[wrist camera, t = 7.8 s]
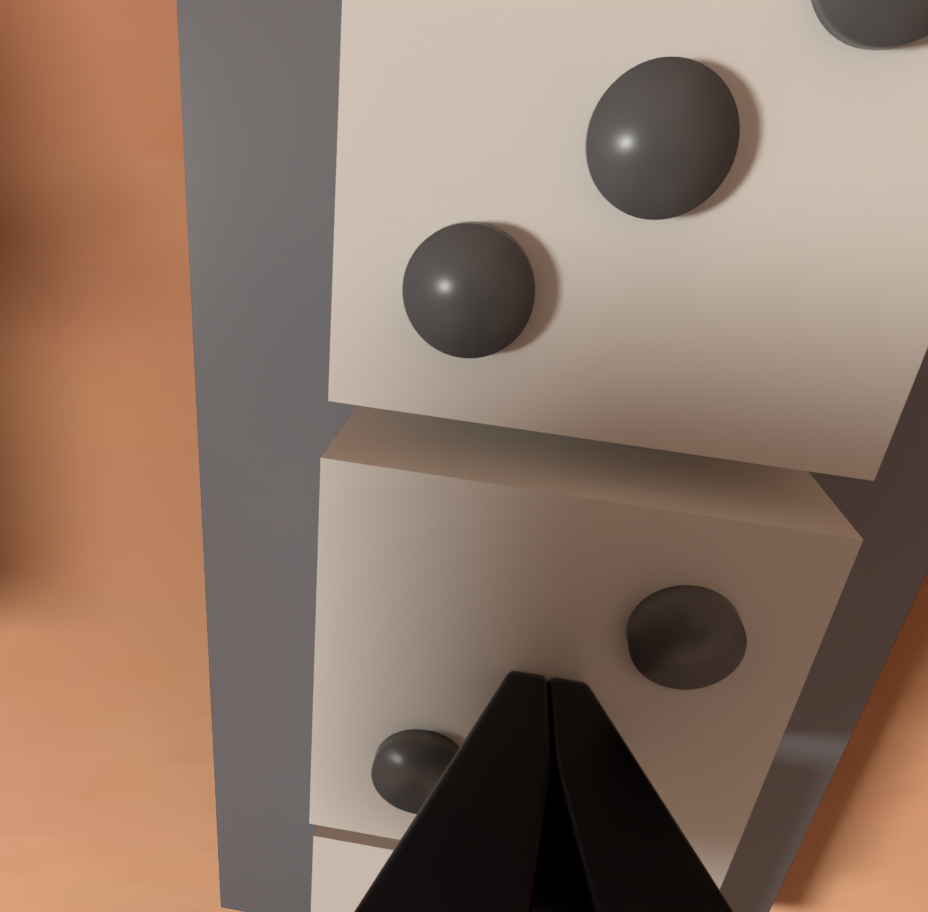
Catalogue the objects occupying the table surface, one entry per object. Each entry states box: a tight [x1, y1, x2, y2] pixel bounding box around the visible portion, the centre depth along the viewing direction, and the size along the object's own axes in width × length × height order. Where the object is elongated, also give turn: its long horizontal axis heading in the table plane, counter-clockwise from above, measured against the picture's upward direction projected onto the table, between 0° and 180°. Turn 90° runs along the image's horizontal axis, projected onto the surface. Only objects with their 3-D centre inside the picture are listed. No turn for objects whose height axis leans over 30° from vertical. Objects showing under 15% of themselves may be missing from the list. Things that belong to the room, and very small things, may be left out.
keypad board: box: [177, 0, 928, 912], centre depth 11 cm, size 18×10×2 cm, turn 173°
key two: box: [309, 406, 863, 890], centre depth 8 cm, size 5×5×2 cm
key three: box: [328, 0, 928, 481], centre depth 6 cm, size 5×5×2 cm
